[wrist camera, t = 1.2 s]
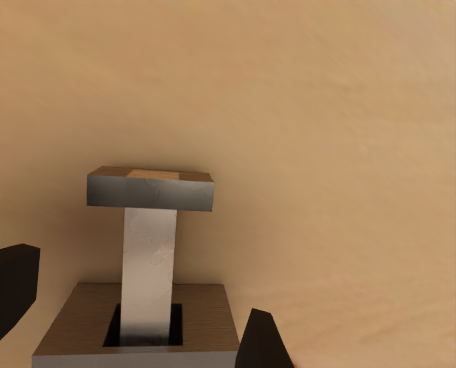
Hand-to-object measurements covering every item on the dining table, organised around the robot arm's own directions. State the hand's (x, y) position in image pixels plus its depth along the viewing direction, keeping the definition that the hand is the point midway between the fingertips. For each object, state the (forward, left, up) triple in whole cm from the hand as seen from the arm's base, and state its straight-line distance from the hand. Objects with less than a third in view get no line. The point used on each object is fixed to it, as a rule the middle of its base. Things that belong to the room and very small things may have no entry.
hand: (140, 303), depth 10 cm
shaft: (-4, -7, -9) cm, 12 cm away
